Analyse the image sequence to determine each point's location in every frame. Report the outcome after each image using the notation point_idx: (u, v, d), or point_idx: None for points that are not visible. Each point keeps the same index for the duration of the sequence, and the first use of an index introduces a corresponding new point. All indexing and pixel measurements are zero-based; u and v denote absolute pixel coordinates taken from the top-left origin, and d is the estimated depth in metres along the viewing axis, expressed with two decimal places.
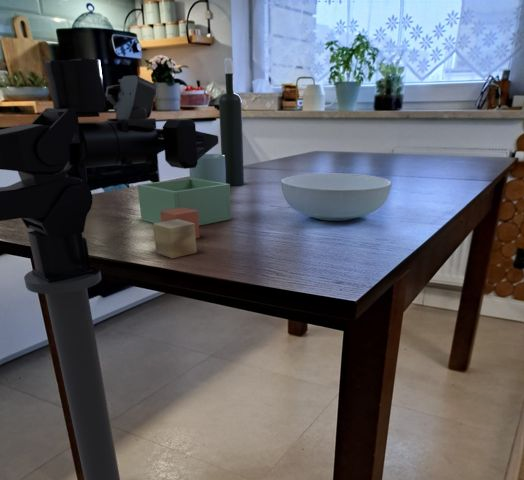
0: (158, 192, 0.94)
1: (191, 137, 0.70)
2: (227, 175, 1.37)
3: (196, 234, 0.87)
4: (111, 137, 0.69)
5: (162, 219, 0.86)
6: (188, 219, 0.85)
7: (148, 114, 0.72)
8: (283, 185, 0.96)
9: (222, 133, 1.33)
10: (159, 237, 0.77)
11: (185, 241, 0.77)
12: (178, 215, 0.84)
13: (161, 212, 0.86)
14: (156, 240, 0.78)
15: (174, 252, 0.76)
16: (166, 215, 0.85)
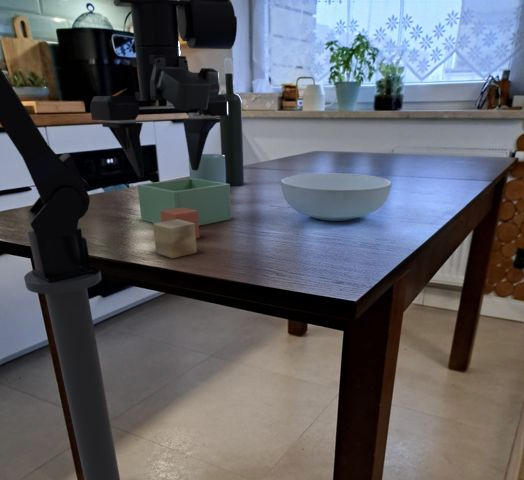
0: (158, 192, 0.94)
1: (103, 114, 0.64)
2: (227, 175, 1.37)
3: (196, 234, 0.87)
4: (169, 38, 0.65)
5: (162, 219, 0.86)
6: (188, 219, 0.85)
7: (162, 94, 0.66)
8: (283, 185, 0.96)
9: (222, 133, 1.33)
10: (159, 237, 0.77)
11: (185, 241, 0.77)
12: (178, 215, 0.84)
13: (161, 212, 0.86)
14: (156, 240, 0.78)
15: (174, 252, 0.76)
16: (166, 215, 0.85)
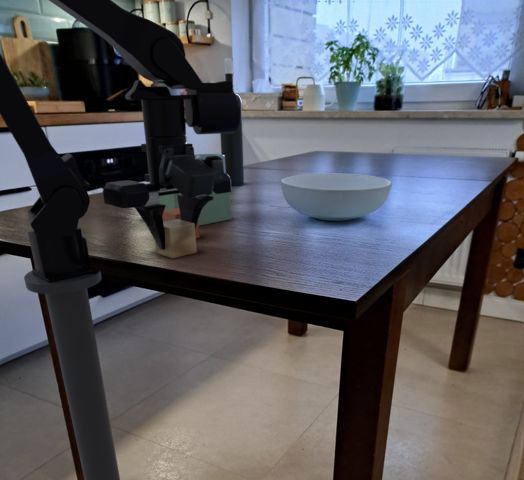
0: None
1: (115, 201, 0.69)
2: None
3: (196, 234, 0.87)
4: (177, 130, 0.70)
5: None
6: None
7: (170, 180, 0.71)
8: (283, 185, 0.96)
9: (222, 133, 1.33)
10: None
11: (185, 241, 0.77)
12: (178, 215, 0.84)
13: None
14: None
15: (174, 252, 0.76)
16: (166, 215, 0.85)
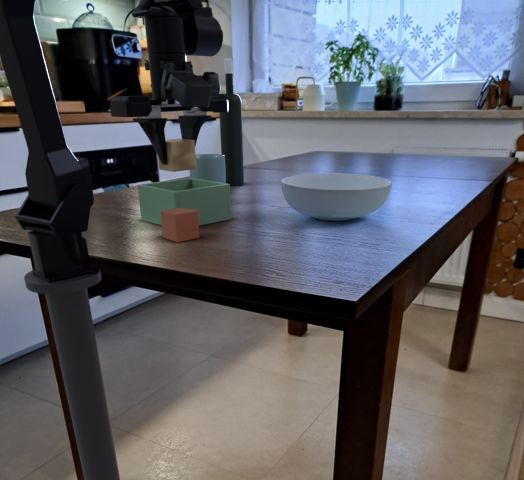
0: (158, 192, 0.94)
1: (121, 111, 0.76)
2: (227, 175, 1.37)
3: (196, 234, 0.87)
4: (183, 47, 0.77)
5: (162, 219, 0.86)
6: (188, 219, 0.85)
7: (170, 94, 0.77)
8: (283, 185, 0.96)
9: (222, 133, 1.33)
10: None
11: (186, 156, 0.84)
12: (178, 215, 0.84)
13: (161, 212, 0.86)
14: None
15: (175, 165, 0.83)
16: (166, 215, 0.85)
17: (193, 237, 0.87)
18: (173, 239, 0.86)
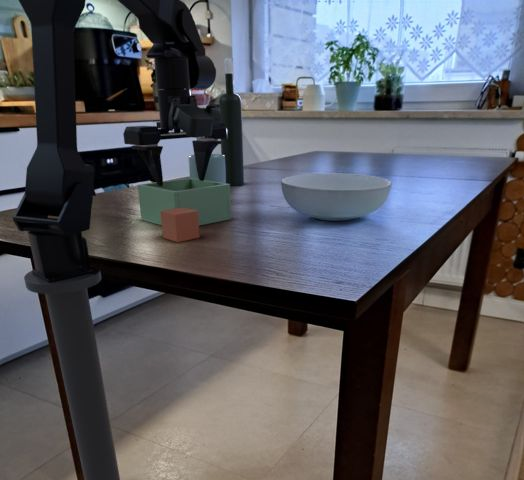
0: (158, 192, 0.94)
1: (134, 140, 0.86)
2: (227, 175, 1.37)
3: (196, 234, 0.87)
4: (189, 83, 0.89)
5: (162, 219, 0.86)
6: (188, 219, 0.85)
7: (177, 124, 0.88)
8: (283, 185, 0.96)
9: None
10: None
11: None
12: (178, 215, 0.84)
13: (161, 212, 0.86)
14: None
15: None
16: (166, 215, 0.85)
17: (193, 237, 0.87)
18: (173, 239, 0.86)
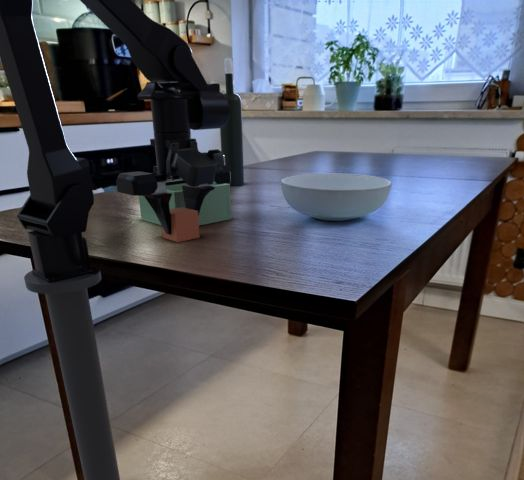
0: None
1: (128, 189, 0.78)
2: None
3: (196, 234, 0.87)
4: (187, 126, 0.79)
5: None
6: (188, 219, 0.85)
7: (176, 171, 0.79)
8: (283, 185, 0.96)
9: (222, 133, 1.33)
10: None
11: None
12: (178, 215, 0.84)
13: None
14: None
15: None
16: None
17: (193, 237, 0.87)
18: (173, 239, 0.86)
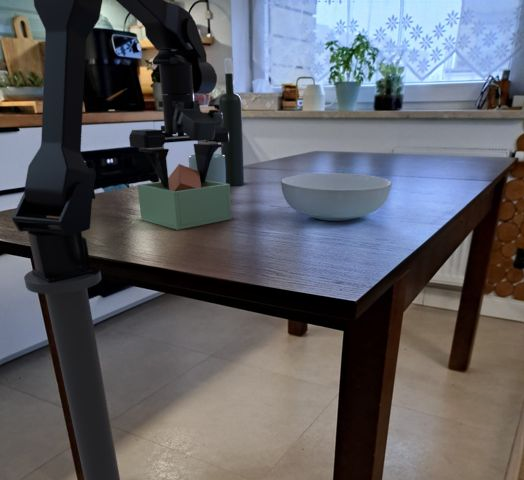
0: (158, 192, 0.94)
1: (139, 143, 0.90)
2: (227, 175, 1.37)
3: (198, 186, 1.00)
4: (193, 89, 0.92)
5: (169, 182, 1.01)
6: (190, 172, 1.00)
7: (181, 128, 0.91)
8: (283, 185, 0.96)
9: None
10: None
11: None
12: (181, 165, 0.99)
13: (169, 177, 1.02)
14: None
15: None
16: (172, 174, 1.00)
17: (195, 187, 0.99)
18: (177, 185, 0.98)
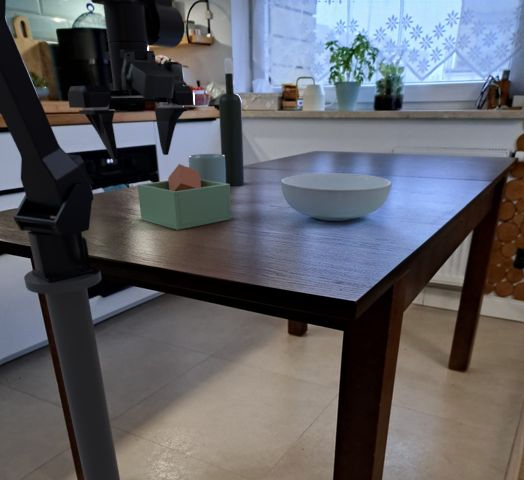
0: (158, 192, 0.94)
1: (79, 102, 0.72)
2: (227, 175, 1.37)
3: (198, 186, 1.00)
4: (146, 36, 0.74)
5: (169, 182, 1.01)
6: (190, 172, 1.00)
7: (131, 84, 0.74)
8: (283, 185, 0.96)
9: (222, 133, 1.33)
10: None
11: None
12: (181, 165, 0.99)
13: (169, 177, 1.02)
14: None
15: None
16: (172, 174, 1.00)
17: (195, 187, 0.99)
18: (177, 185, 0.98)
